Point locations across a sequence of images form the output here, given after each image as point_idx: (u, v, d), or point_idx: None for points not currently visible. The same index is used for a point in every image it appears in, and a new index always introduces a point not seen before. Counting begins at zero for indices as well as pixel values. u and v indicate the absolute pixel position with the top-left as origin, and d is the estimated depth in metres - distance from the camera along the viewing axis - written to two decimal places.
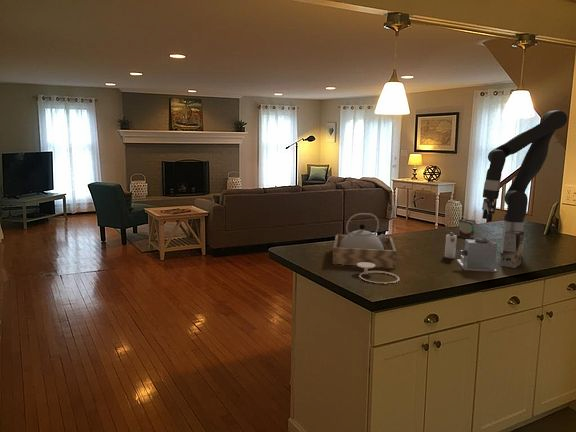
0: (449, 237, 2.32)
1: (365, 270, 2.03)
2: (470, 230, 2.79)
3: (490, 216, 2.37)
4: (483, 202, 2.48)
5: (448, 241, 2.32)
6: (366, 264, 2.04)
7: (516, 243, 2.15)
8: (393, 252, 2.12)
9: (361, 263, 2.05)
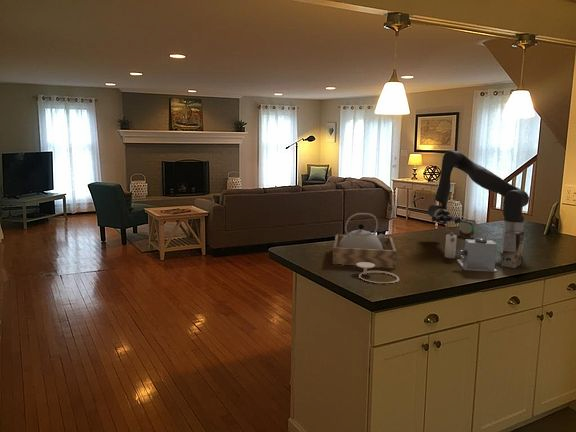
0: (449, 237, 2.32)
1: (364, 270, 2.03)
2: (470, 230, 2.79)
3: (436, 219, 2.47)
4: None
5: (448, 241, 2.32)
6: (365, 264, 2.04)
7: (516, 243, 2.15)
8: (393, 252, 2.12)
9: (361, 263, 2.05)
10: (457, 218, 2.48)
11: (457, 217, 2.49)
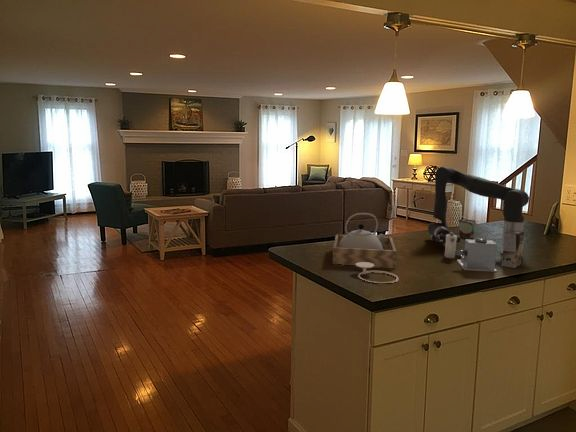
0: (449, 237, 2.32)
1: (364, 270, 2.03)
2: (470, 230, 2.79)
3: (436, 239, 2.45)
4: None
5: (448, 241, 2.32)
6: (365, 263, 2.04)
7: (516, 243, 2.15)
8: (393, 252, 2.12)
9: (360, 263, 2.05)
10: (457, 237, 2.46)
11: (457, 236, 2.47)
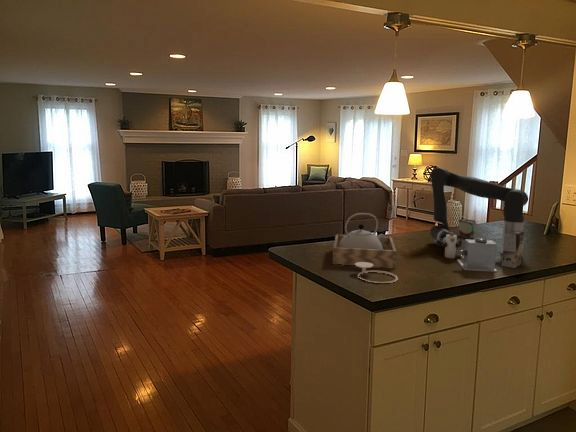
0: (449, 237, 2.32)
1: (363, 270, 2.03)
2: (470, 230, 2.79)
3: (442, 243, 2.35)
4: None
5: (448, 241, 2.32)
6: (364, 263, 2.04)
7: (516, 243, 2.15)
8: (393, 252, 2.12)
9: (359, 263, 2.05)
10: (459, 241, 2.37)
11: (459, 240, 2.37)
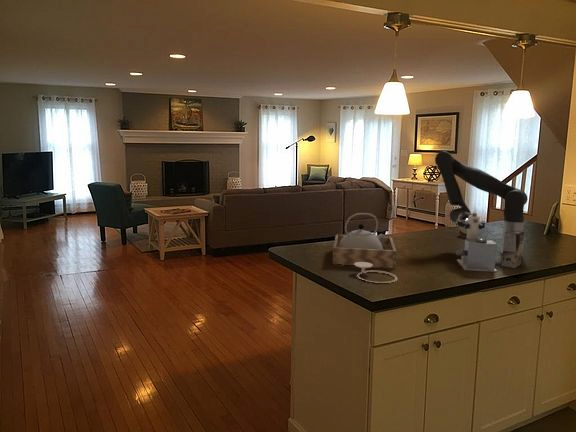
0: (472, 218, 2.19)
1: (362, 270, 2.03)
2: None
3: (465, 224, 2.23)
4: None
5: (471, 222, 2.20)
6: (363, 263, 2.04)
7: (516, 243, 2.15)
8: (393, 252, 2.12)
9: (359, 263, 2.05)
10: (482, 223, 2.24)
11: (482, 222, 2.25)
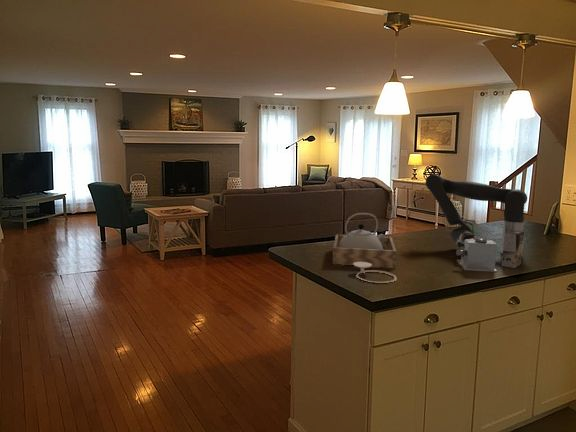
0: None
1: (361, 270, 2.03)
2: None
3: (463, 245, 2.23)
4: None
5: None
6: (362, 263, 2.04)
7: (516, 243, 2.15)
8: (393, 252, 2.12)
9: (358, 262, 2.05)
10: None
11: None
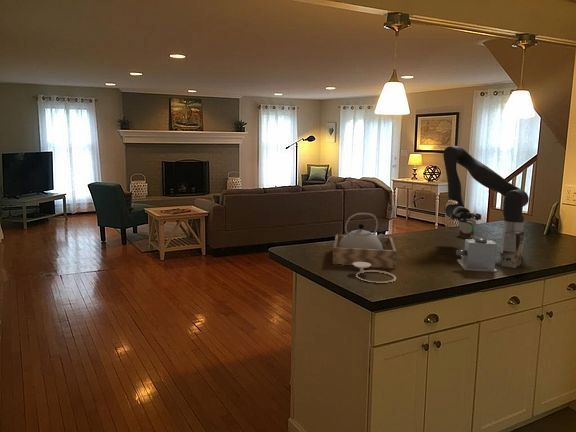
0: None
1: (361, 270, 2.03)
2: (470, 230, 2.79)
3: (456, 217, 2.37)
4: None
5: None
6: (361, 263, 2.04)
7: (516, 243, 2.15)
8: (393, 252, 2.12)
9: (357, 262, 2.05)
10: (478, 215, 2.39)
11: (478, 214, 2.39)
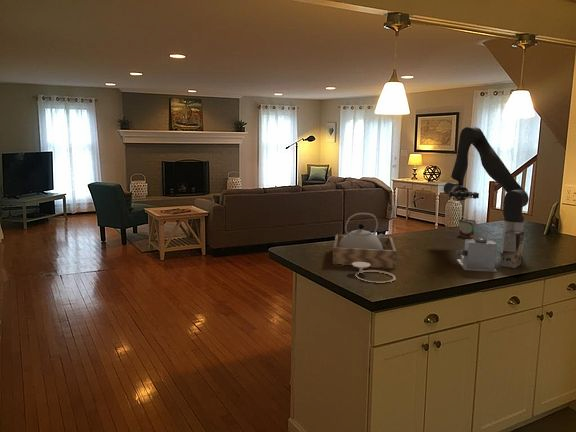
0: None
1: (360, 270, 2.03)
2: (470, 230, 2.79)
3: (454, 195, 2.39)
4: None
5: None
6: (361, 263, 2.04)
7: (516, 243, 2.15)
8: (393, 252, 2.12)
9: (356, 262, 2.05)
10: (476, 193, 2.40)
11: (475, 192, 2.41)
